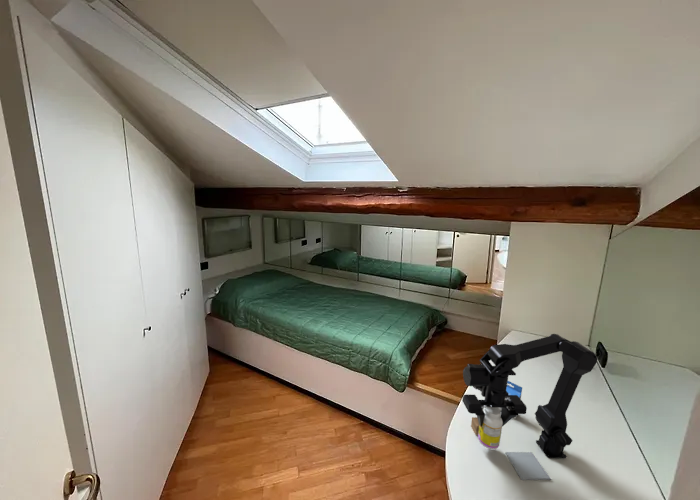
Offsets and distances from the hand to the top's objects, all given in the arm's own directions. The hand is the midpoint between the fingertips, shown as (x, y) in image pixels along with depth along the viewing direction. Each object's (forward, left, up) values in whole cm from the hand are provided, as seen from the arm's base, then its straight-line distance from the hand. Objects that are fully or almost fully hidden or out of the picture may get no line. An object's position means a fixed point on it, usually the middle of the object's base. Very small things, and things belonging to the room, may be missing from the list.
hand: (490, 425), depth 97 cm
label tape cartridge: (-16, -18, -10) cm, 26 cm away
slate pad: (-10, +6, -10) cm, 15 cm away
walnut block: (-1, -8, -10) cm, 12 cm away
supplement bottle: (0, 0, -7) cm, 7 cm away
